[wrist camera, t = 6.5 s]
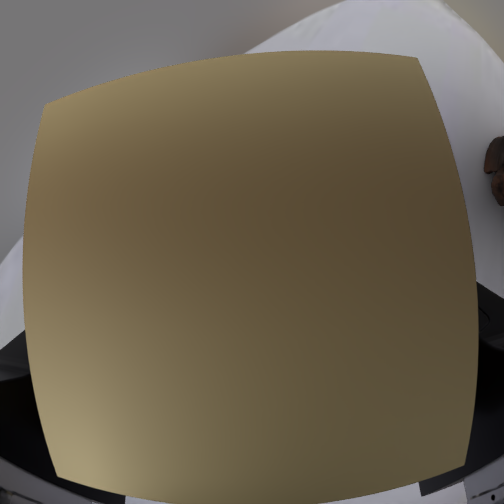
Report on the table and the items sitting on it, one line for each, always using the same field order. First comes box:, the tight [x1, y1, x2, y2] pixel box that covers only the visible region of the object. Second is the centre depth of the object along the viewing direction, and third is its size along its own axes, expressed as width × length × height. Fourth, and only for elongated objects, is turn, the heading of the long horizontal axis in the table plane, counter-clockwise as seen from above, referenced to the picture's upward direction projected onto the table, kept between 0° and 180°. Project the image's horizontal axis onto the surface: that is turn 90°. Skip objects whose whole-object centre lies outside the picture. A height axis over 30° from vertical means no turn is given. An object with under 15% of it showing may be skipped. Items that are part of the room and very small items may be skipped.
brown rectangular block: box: [23, 51, 478, 504], centre depth 9 cm, size 6×6×12 cm
